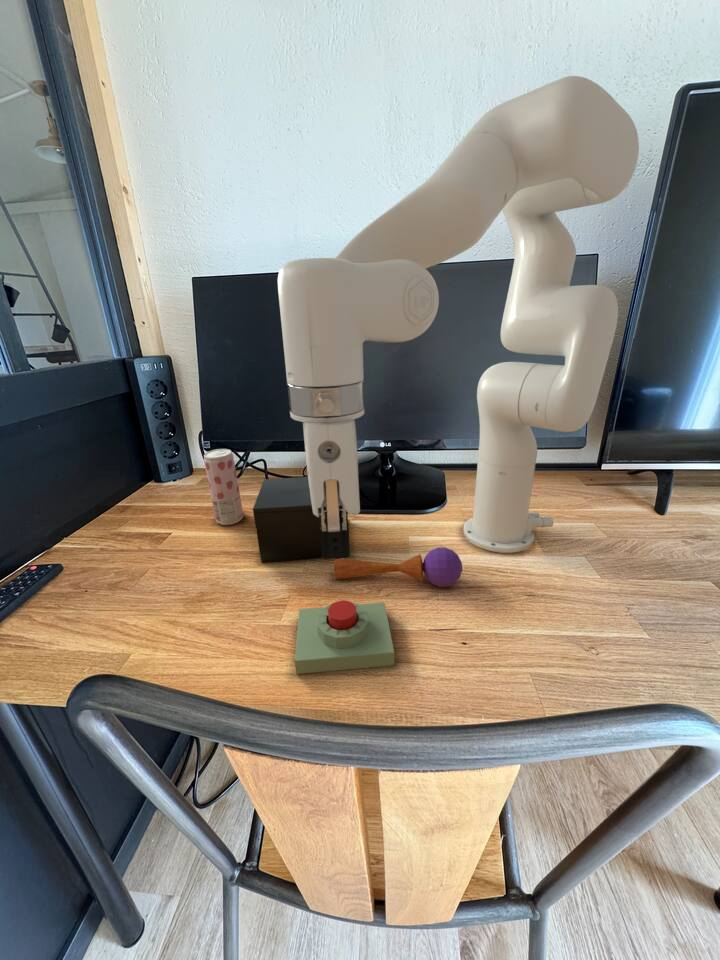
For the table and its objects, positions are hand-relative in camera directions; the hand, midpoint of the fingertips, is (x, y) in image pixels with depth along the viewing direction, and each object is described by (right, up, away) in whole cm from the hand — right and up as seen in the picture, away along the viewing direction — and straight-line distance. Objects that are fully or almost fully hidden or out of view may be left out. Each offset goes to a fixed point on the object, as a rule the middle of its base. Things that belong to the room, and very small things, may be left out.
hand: (336, 554), depth 47 cm
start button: (+1, -9, +4) cm, 10 cm away
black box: (-7, -3, +29) cm, 30 cm away
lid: (-7, +6, +25) cm, 27 cm away
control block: (+1, -13, +6) cm, 14 cm away
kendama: (+9, -8, +17) cm, 21 cm away
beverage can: (-25, 0, +38) cm, 46 cm away
